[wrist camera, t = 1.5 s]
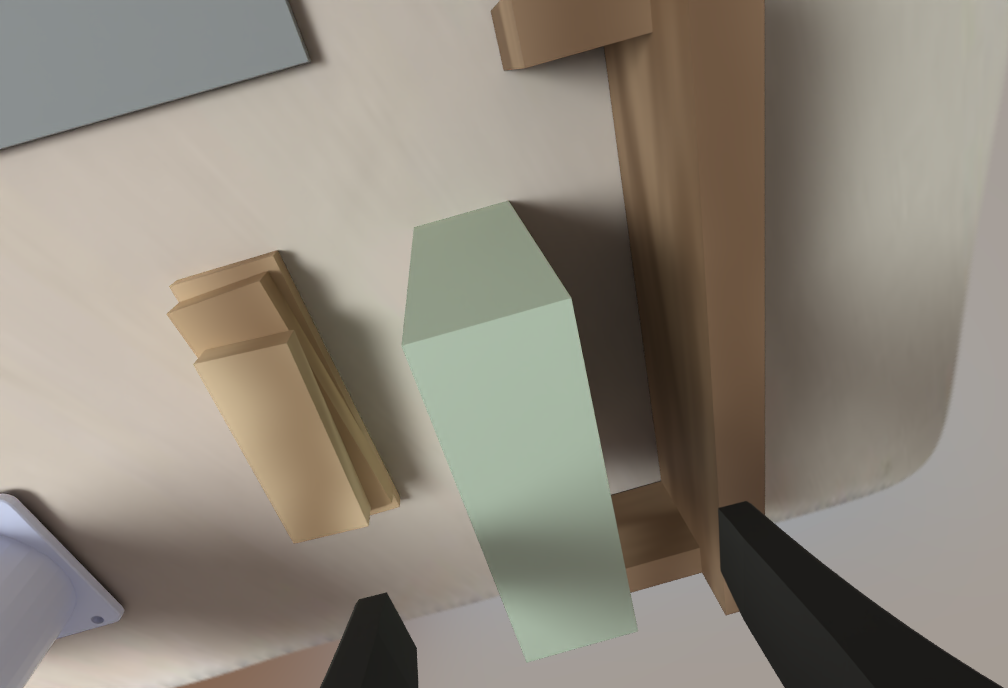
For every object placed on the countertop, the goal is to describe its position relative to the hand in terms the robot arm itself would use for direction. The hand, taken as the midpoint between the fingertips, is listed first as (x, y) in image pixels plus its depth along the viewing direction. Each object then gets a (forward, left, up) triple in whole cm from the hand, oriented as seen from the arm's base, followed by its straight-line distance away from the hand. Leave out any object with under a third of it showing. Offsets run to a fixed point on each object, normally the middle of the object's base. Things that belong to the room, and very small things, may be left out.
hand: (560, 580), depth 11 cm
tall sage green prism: (0, 0, -11) cm, 11 cm away
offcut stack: (-8, 0, -11) cm, 14 cm away
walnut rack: (+5, 0, -11) cm, 12 cm away
